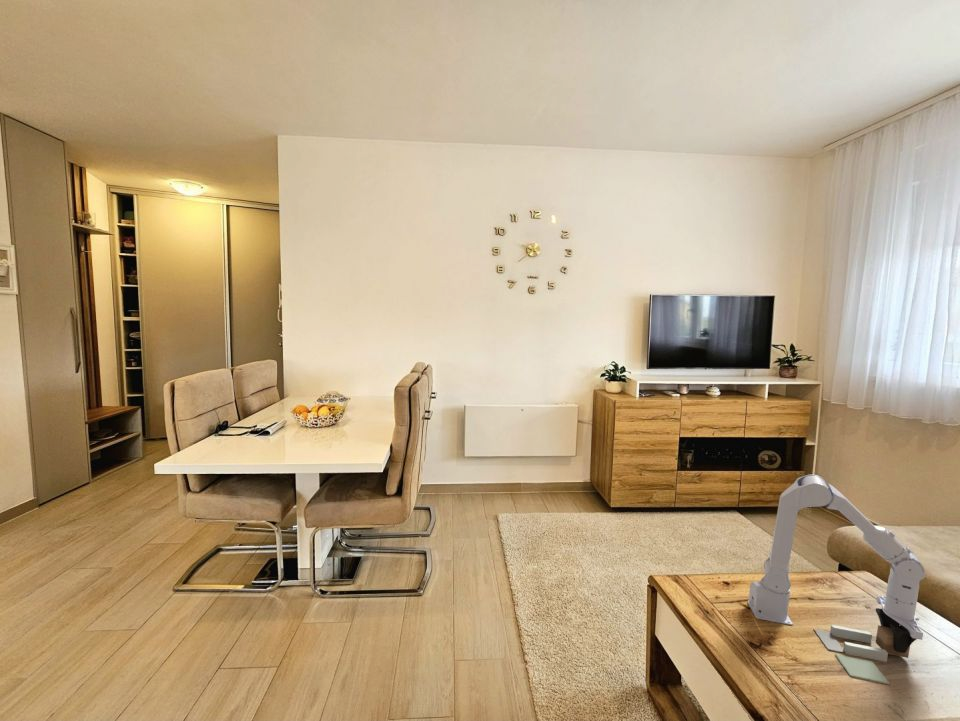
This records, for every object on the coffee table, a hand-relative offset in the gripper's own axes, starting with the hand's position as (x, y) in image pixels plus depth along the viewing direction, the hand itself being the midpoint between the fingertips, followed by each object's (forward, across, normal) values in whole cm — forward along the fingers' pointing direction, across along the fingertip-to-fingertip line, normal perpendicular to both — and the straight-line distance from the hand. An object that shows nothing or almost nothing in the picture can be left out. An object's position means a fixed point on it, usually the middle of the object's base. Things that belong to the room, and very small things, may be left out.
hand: (893, 645), depth 115 cm
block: (+2, 0, 0) cm, 2 cm away
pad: (+2, -9, +11) cm, 15 cm away
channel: (+3, 0, +10) cm, 10 cm away
